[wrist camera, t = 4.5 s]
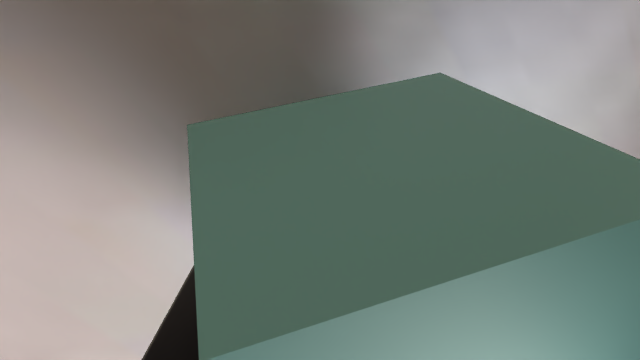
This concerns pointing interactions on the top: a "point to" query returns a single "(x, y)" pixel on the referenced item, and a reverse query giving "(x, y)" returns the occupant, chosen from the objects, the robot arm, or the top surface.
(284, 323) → the teal painted block
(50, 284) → the top surface
